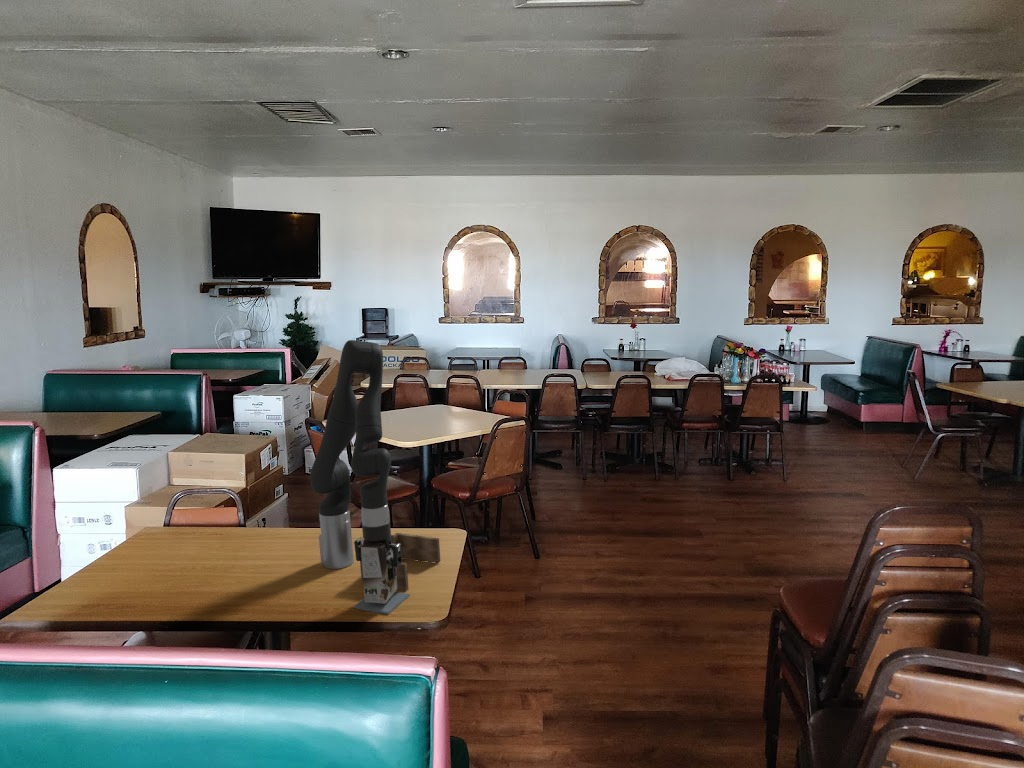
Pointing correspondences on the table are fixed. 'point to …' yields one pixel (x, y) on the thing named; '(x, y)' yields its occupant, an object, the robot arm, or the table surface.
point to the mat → (383, 608)
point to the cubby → (413, 554)
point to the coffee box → (377, 572)
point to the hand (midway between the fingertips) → (380, 577)
